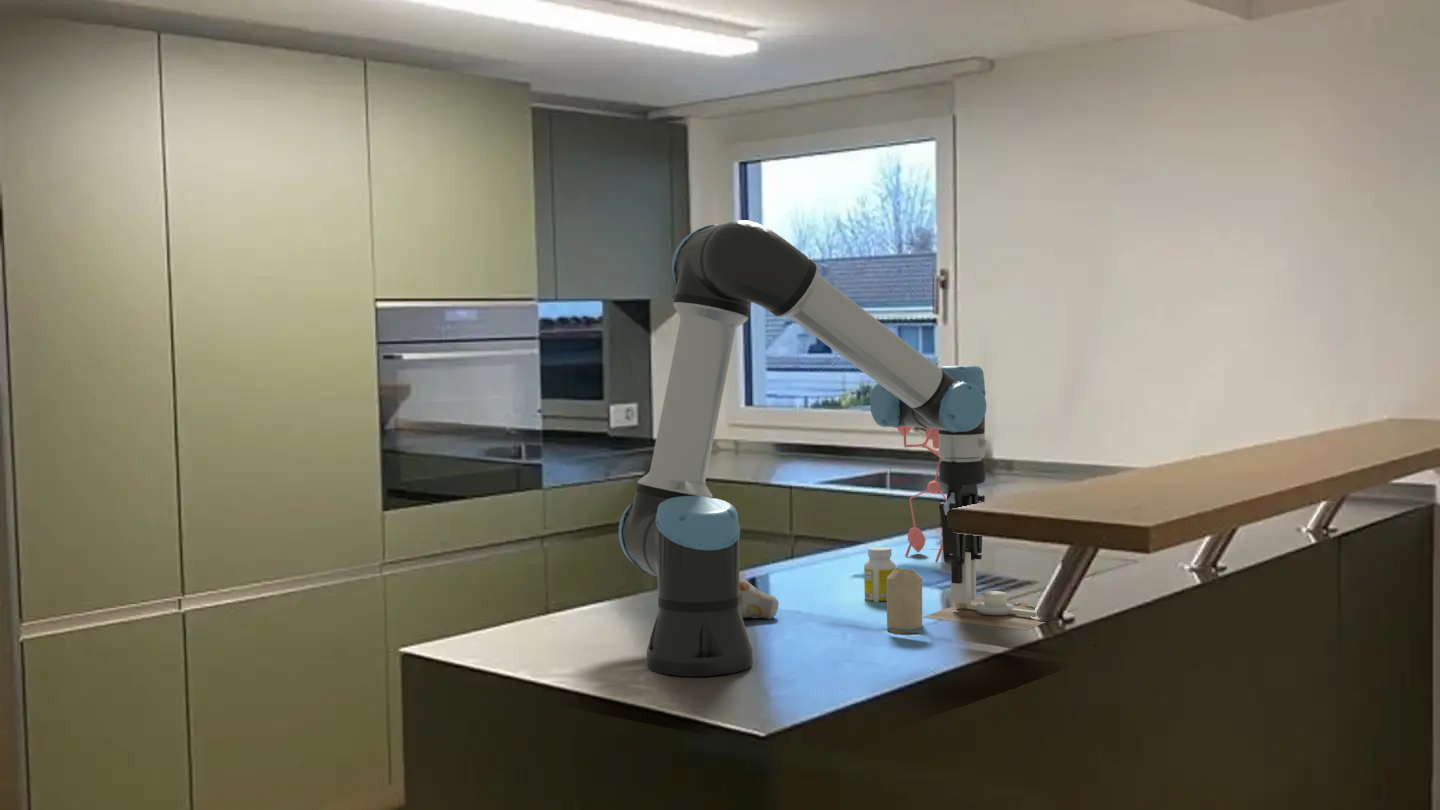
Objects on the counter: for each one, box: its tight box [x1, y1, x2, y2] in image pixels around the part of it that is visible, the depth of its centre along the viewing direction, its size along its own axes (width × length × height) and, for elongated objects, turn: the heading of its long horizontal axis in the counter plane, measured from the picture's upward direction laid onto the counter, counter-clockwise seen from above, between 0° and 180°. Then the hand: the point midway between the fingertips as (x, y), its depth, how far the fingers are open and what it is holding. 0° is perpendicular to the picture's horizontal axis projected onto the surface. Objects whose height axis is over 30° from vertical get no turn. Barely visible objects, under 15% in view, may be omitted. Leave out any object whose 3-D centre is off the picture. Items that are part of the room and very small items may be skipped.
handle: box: [954, 552, 1037, 617], centre depth 227 cm, size 15×6×9 cm, turn 50°
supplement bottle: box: [863, 546, 897, 603], centre depth 241 cm, size 5×5×10 cm
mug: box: [739, 576, 779, 620], centre depth 231 cm, size 8×10×10 cm
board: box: [922, 596, 1078, 631], centre depth 228 cm, size 20×18×1 cm
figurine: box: [896, 426, 980, 563], centre depth 290 cm, size 15×26×35 cm, turn 35°
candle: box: [886, 567, 923, 636], centre depth 219 cm, size 6×6×10 cm
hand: (963, 600), depth 231 cm, fingers open, 3 cm apart
